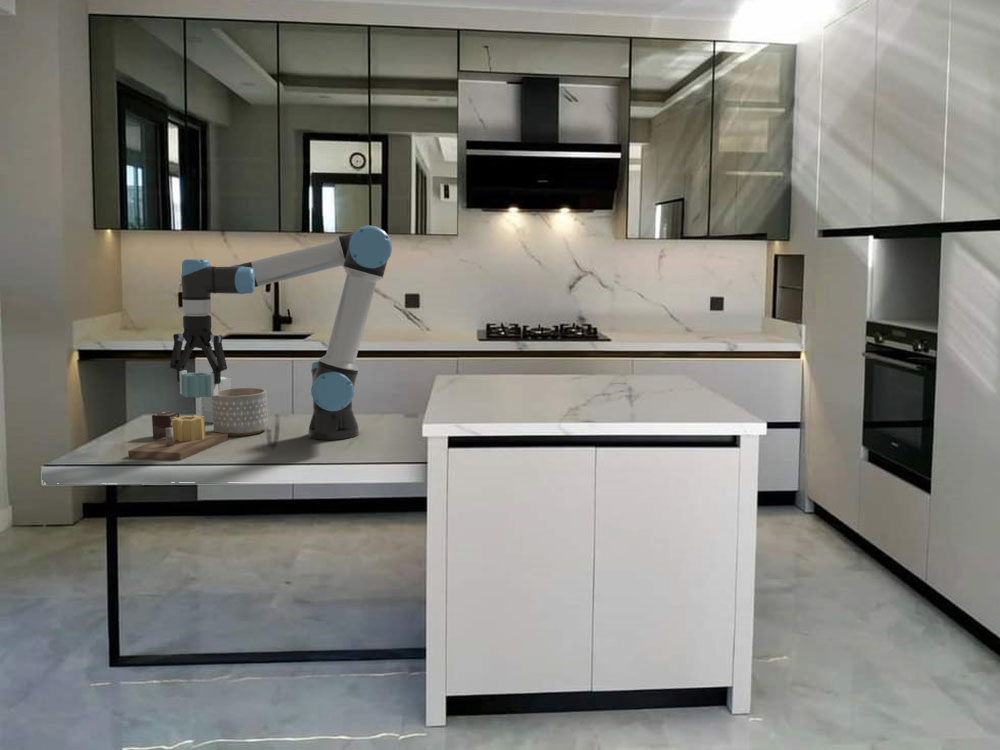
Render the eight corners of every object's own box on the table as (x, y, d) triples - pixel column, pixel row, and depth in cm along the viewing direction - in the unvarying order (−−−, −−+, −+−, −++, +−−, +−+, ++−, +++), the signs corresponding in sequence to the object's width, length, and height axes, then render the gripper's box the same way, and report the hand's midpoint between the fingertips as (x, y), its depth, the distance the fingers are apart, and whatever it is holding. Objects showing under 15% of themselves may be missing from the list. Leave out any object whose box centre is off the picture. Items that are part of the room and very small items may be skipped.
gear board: (227, 440, 280) (226, 417, 279) (180, 460, 255) (179, 435, 254) (180, 438, 283) (178, 415, 282) (128, 457, 258) (126, 433, 257)
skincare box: (201, 422, 308) (198, 377, 306) (214, 418, 313) (212, 375, 311) (220, 424, 304) (217, 379, 302) (233, 420, 309) (231, 376, 307)
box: (170, 439, 282) (169, 415, 281) (152, 438, 283) (151, 415, 282) (181, 435, 288) (179, 412, 287) (163, 434, 289) (162, 411, 288)
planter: (211, 429, 296) (209, 390, 294) (263, 424, 302) (261, 386, 301) (217, 439, 281) (214, 397, 279) (272, 434, 287) (270, 393, 286)
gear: (221, 393, 266) (221, 372, 265) (205, 398, 258) (205, 377, 257) (193, 392, 268) (193, 371, 267) (176, 396, 259) (175, 375, 259)
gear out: (207, 434, 279) (205, 414, 278) (202, 440, 270) (201, 420, 269) (175, 435, 277) (174, 415, 276) (170, 442, 268) (169, 421, 267)
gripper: (239, 315, 261) (240, 394, 264) (169, 312, 266) (172, 390, 269) (225, 317, 254) (227, 398, 257) (154, 314, 258) (157, 394, 261)
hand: (199, 394), depth 263 cm, fingers closed on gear, 9 cm apart
